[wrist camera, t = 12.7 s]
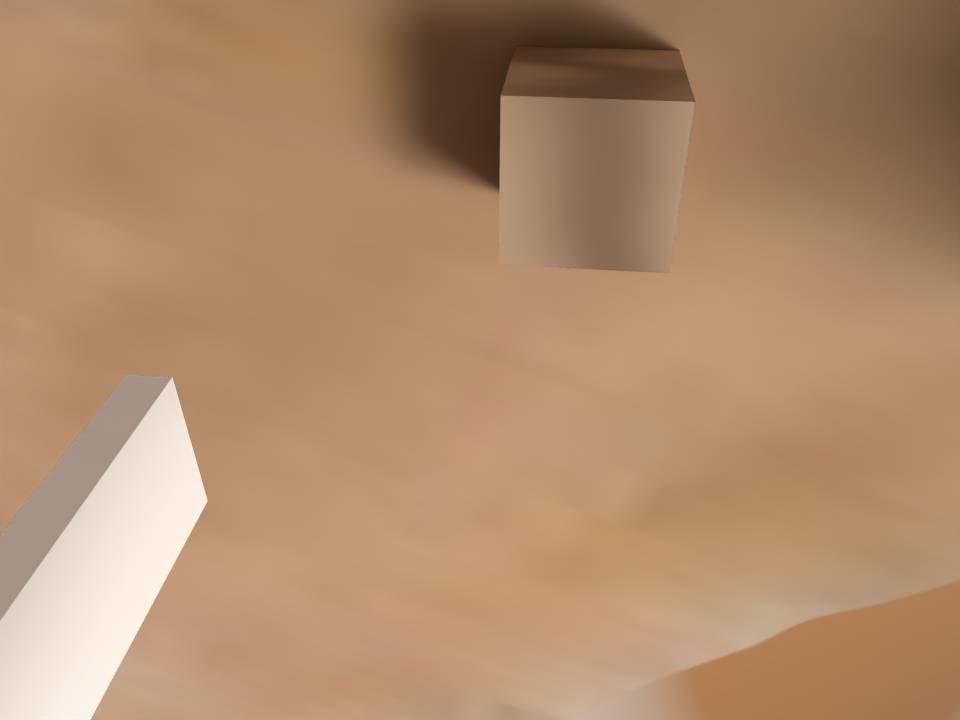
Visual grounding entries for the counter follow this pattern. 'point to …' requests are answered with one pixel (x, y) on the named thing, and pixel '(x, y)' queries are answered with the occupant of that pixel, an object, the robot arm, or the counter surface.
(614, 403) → the counter surface
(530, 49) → the walnut cube
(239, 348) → the counter surface
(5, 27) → the counter surface
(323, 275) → the counter surface
